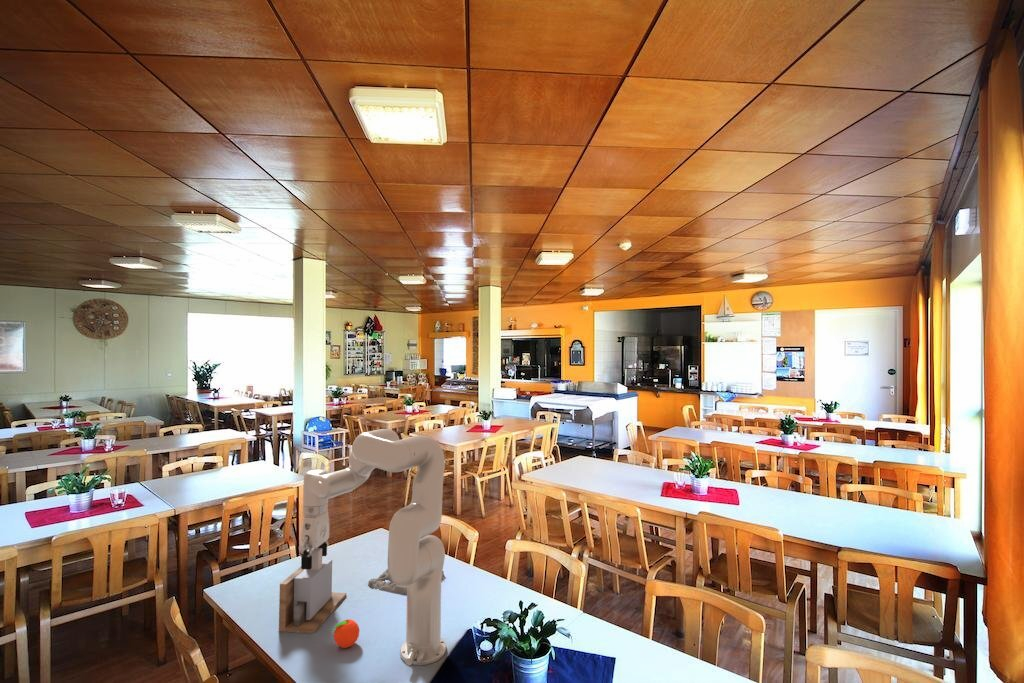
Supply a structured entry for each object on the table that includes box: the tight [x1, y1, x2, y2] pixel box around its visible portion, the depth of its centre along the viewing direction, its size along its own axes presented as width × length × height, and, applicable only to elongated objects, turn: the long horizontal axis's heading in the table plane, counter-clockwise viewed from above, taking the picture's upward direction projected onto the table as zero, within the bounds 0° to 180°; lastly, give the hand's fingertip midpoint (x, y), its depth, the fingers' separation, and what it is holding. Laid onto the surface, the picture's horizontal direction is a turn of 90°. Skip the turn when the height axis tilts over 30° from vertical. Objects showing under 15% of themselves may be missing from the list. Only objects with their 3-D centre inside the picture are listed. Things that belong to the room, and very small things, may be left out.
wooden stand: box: [278, 566, 347, 634], centre depth 152 cm, size 22×11×14 cm, turn 175°
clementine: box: [330, 618, 360, 649], centre depth 134 cm, size 8×7×7 cm
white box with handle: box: [293, 548, 333, 620], centre depth 152 cm, size 14×5×18 cm, turn 175°
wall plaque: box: [367, 568, 445, 596], centre depth 173 cm, size 24×19×4 cm
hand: (314, 562), depth 152 cm, fingers open, 9 cm apart
